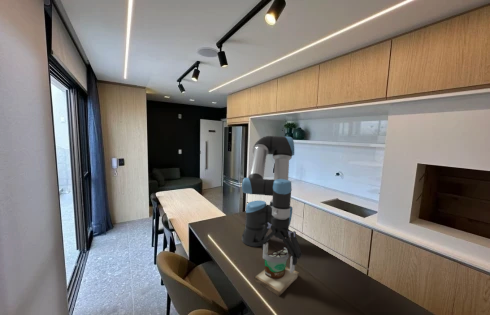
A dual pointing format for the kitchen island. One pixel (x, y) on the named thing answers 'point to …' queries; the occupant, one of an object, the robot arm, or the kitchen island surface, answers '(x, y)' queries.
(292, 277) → the board
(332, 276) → the kitchen island surface
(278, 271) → the food container
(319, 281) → the kitchen island surface
